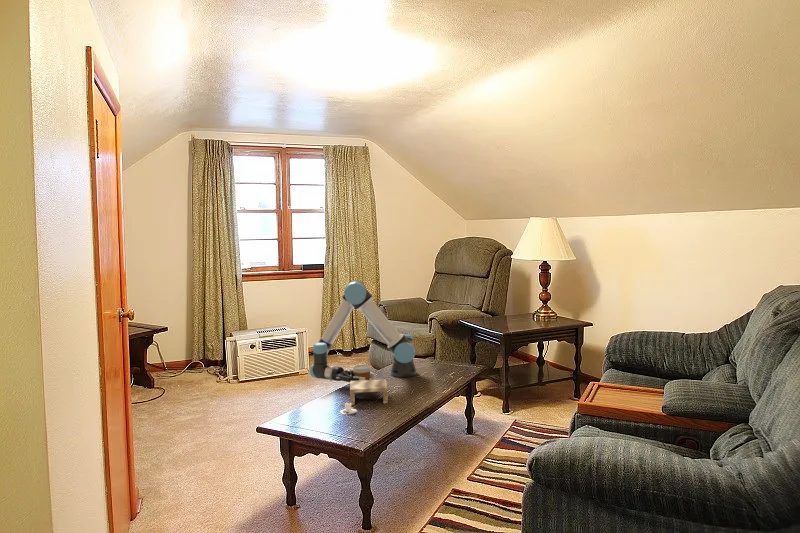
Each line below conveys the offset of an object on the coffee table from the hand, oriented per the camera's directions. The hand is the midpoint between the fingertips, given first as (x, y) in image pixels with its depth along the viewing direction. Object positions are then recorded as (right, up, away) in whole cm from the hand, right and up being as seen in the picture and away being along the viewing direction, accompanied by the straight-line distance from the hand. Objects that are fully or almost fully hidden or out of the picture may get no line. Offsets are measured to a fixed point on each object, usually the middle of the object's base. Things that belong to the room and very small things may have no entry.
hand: (369, 378), depth 295 cm
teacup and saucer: (-9, -10, -36) cm, 38 cm away
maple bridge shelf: (0, -8, -15) cm, 17 cm away
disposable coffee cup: (-4, -7, +3) cm, 8 cm away
